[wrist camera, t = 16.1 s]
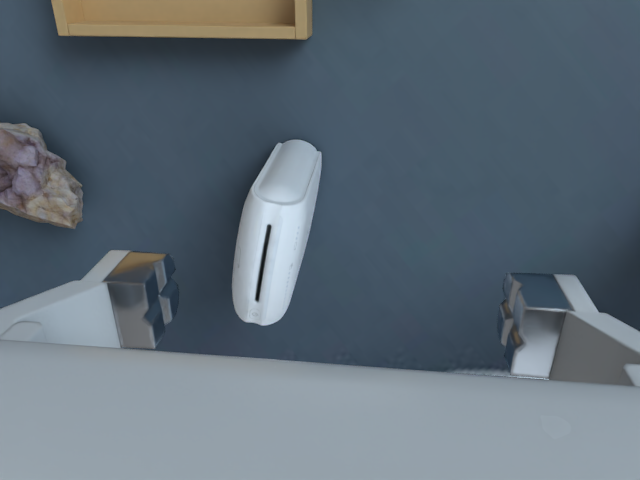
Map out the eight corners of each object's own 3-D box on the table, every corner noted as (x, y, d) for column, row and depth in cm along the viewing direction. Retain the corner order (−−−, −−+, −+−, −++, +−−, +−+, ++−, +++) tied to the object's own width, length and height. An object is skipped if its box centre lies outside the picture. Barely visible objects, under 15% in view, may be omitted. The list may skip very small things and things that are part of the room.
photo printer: (305, 256, 46) (281, 345, 35) (257, 245, 46) (218, 331, 35) (329, 144, 42) (308, 208, 31) (275, 132, 42) (236, 192, 31)
